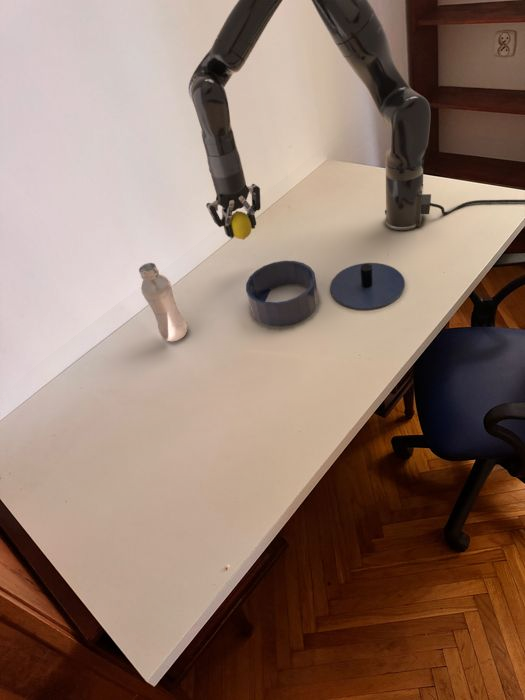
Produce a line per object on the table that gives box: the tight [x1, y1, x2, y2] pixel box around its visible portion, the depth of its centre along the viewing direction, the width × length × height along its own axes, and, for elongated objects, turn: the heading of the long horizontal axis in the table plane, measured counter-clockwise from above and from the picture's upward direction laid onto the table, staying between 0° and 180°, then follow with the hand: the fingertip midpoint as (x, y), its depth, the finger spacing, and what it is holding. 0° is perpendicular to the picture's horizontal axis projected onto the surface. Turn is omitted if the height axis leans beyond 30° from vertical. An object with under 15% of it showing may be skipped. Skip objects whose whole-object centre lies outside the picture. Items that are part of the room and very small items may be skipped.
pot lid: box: [330, 262, 406, 311], centre depth 111 cm, size 17×17×6 cm
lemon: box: [230, 210, 252, 240], centre depth 120 cm, size 6×6×8 cm
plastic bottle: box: [138, 262, 188, 342], centre depth 107 cm, size 6×7×20 cm
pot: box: [245, 260, 320, 328], centre depth 112 cm, size 16×16×7 cm
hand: (241, 231), depth 121 cm, fingers closed on lemon, 5 cm apart
